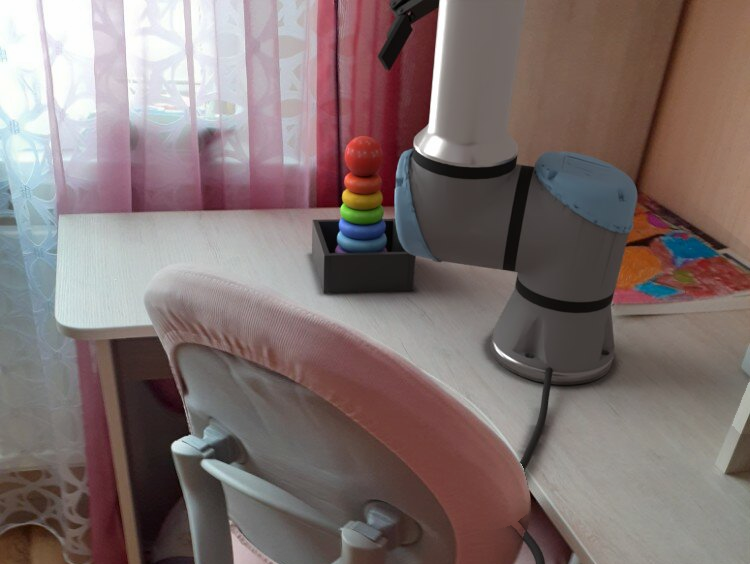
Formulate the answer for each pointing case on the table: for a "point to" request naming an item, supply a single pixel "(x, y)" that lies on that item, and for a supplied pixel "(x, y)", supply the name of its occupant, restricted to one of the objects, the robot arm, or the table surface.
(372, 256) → the box
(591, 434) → the table surface
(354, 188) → the stacking toy
